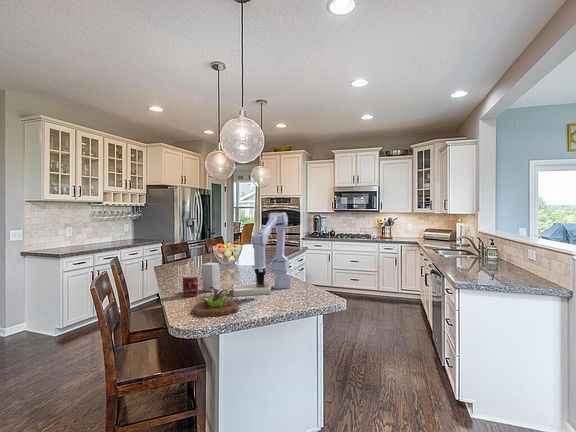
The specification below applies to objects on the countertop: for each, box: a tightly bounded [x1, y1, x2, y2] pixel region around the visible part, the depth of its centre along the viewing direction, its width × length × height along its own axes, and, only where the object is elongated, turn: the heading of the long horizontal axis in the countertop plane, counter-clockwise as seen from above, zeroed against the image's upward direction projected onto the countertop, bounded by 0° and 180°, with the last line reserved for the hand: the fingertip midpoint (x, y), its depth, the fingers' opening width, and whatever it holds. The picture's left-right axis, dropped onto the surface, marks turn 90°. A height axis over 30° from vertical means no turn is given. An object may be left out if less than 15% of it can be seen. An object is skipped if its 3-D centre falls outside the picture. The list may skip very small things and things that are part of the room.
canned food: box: [182, 273, 199, 299], centre depth 169 cm, size 8×8×11 cm
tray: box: [232, 282, 272, 297], centre depth 175 cm, size 20×14×3 cm
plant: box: [192, 287, 239, 318], centre depth 143 cm, size 20×20×11 cm
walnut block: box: [255, 274, 265, 288], centre depth 163 cm, size 4×4×6 cm
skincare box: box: [201, 262, 221, 293], centre depth 180 cm, size 8×7×16 cm
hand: (260, 283), depth 163 cm, fingers closed on walnut block, 4 cm apart
